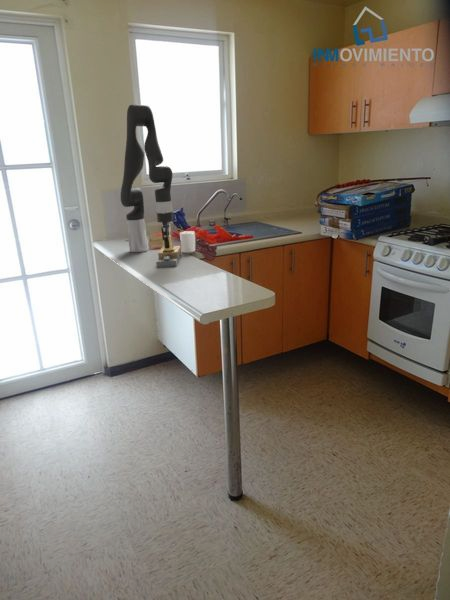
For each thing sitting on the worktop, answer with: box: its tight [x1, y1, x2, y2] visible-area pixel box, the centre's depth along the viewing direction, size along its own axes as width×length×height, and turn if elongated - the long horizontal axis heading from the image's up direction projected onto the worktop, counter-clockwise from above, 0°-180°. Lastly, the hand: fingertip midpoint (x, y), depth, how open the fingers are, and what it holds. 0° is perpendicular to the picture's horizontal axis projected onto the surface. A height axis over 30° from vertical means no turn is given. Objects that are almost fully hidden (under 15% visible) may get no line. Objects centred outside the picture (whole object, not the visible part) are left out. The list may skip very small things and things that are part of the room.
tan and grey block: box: [155, 243, 182, 268], centre depth 207 cm, size 9×22×6 cm, turn 179°
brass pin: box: [162, 235, 173, 252], centre depth 206 cm, size 4×4×12 cm
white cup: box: [179, 230, 196, 254], centre depth 225 cm, size 8×8×10 cm
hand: (168, 246), depth 206 cm, fingers open, 5 cm apart
